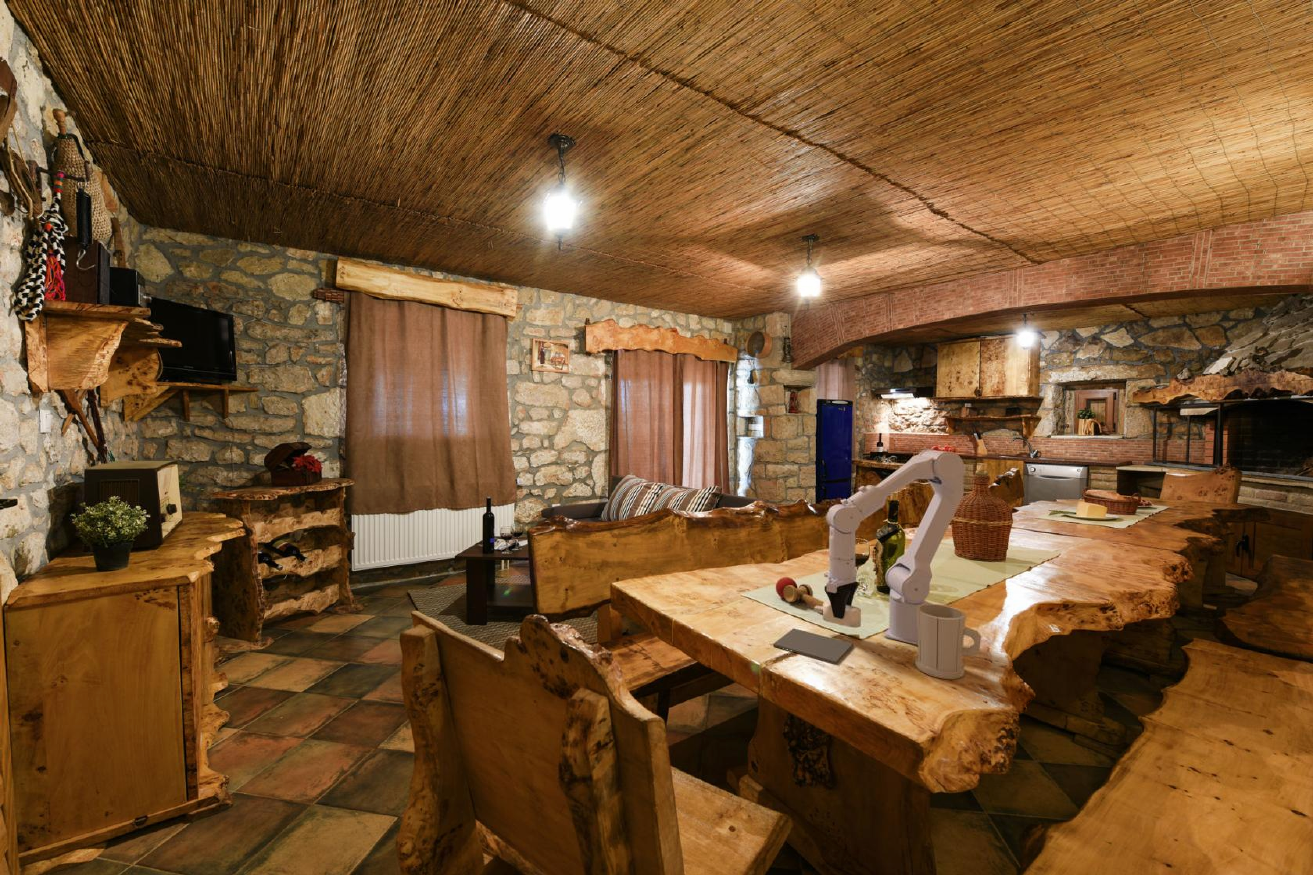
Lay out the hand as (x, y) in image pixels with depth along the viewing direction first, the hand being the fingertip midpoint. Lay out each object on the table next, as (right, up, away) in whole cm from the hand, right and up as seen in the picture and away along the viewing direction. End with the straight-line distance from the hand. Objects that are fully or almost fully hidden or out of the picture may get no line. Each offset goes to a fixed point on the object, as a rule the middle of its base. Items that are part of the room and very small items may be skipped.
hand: (841, 614), depth 124 cm
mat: (-8, -5, -5) cm, 11 cm away
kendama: (-3, -5, +21) cm, 22 cm away
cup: (+15, -6, -16) cm, 23 cm away
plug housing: (0, -2, 0) cm, 2 cm away
